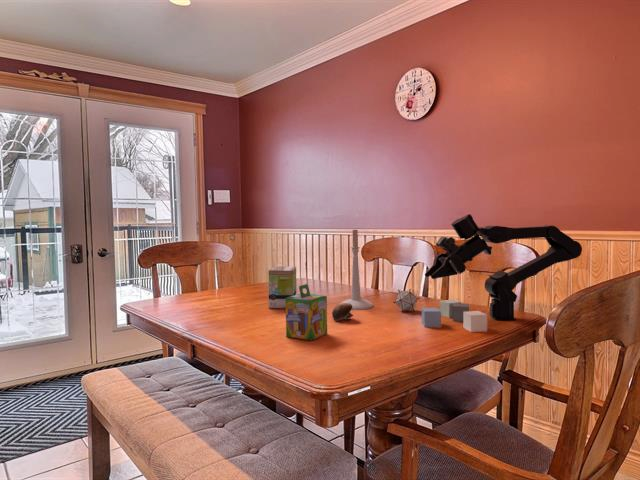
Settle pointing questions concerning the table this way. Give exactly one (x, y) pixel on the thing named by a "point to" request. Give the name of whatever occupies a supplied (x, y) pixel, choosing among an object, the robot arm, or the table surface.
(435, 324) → the slate blue cube
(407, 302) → the game die
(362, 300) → the candlestick
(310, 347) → the table surface
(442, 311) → the sage cube
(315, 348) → the table surface
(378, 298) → the table surface
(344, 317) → the mushroom
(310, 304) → the chalk box
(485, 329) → the cream cube
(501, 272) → the robot arm
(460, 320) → the charcoal cube
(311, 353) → the table surface
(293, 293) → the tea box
